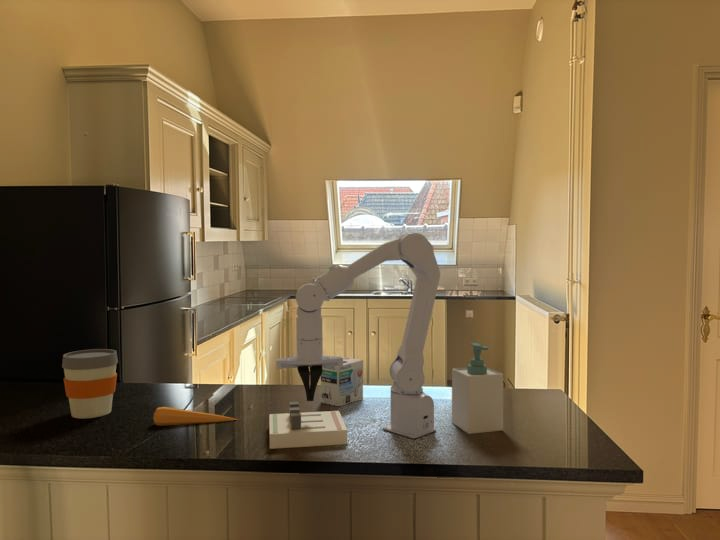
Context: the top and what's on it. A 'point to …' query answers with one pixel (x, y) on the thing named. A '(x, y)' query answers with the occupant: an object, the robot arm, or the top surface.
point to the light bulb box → (342, 383)
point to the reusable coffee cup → (90, 381)
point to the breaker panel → (306, 429)
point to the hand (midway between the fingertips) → (310, 399)
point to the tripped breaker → (293, 411)
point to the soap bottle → (477, 396)
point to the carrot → (185, 417)
